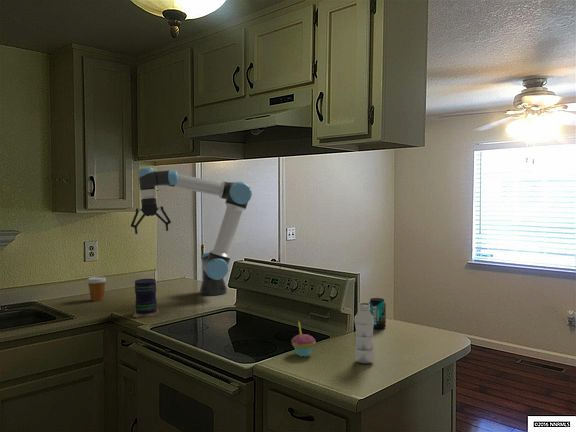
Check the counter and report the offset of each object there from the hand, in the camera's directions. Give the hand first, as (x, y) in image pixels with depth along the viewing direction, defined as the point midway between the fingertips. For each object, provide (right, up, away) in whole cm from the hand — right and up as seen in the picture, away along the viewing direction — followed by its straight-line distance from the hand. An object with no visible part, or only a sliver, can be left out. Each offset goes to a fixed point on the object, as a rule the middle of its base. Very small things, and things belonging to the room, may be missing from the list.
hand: (152, 238), depth 258 cm
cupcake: (+76, -38, -81) cm, 117 cm away
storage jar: (+3, -34, -22) cm, 40 cm away
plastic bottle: (+96, -38, -90) cm, 137 cm away
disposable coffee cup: (-32, -34, +10) cm, 48 cm away
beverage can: (+108, -35, -48) cm, 123 cm away
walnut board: (+3, -35, -22) cm, 41 cm away
